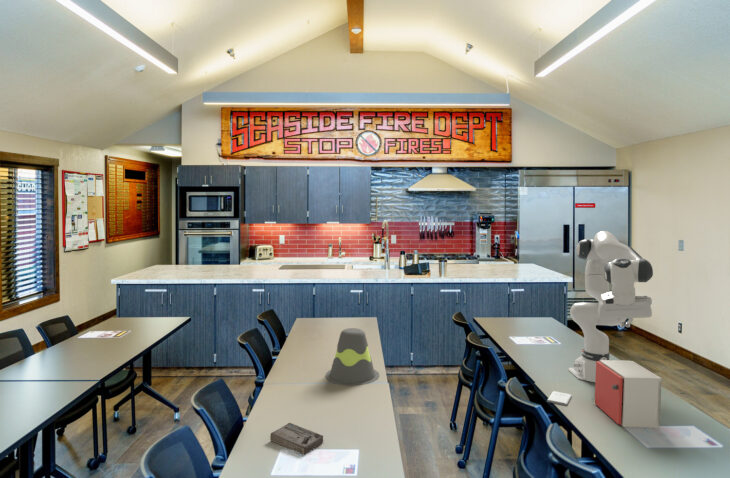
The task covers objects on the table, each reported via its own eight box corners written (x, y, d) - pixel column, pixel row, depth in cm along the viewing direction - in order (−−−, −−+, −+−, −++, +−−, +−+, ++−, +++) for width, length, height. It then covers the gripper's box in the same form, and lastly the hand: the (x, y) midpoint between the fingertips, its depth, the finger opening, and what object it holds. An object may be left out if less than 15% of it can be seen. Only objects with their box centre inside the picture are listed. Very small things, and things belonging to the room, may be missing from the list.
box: (289, 429, 183) (289, 421, 183) (323, 443, 173) (323, 435, 173) (269, 441, 174) (269, 433, 174) (304, 456, 164) (304, 447, 164)
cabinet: (598, 404, 209) (599, 360, 208) (630, 404, 208) (631, 360, 207) (623, 427, 187) (625, 377, 186) (659, 427, 186) (661, 378, 185)
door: (591, 403, 209) (592, 361, 208) (596, 403, 209) (598, 361, 208) (614, 424, 188) (616, 377, 187) (621, 424, 188) (622, 378, 187)
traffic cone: (390, 378, 241) (390, 331, 239) (343, 389, 225) (343, 340, 223) (360, 363, 263) (360, 321, 262) (315, 373, 248) (315, 328, 246)
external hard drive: (547, 403, 212) (552, 393, 222) (566, 407, 207) (571, 397, 218) (547, 399, 211) (552, 390, 222) (566, 403, 207) (571, 394, 217)
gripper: (649, 292, 199) (650, 322, 203) (596, 295, 206) (598, 324, 209) (653, 298, 194) (654, 329, 197) (598, 300, 201) (600, 330, 204)
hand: (625, 326), depth 203 cm, fingers closed
